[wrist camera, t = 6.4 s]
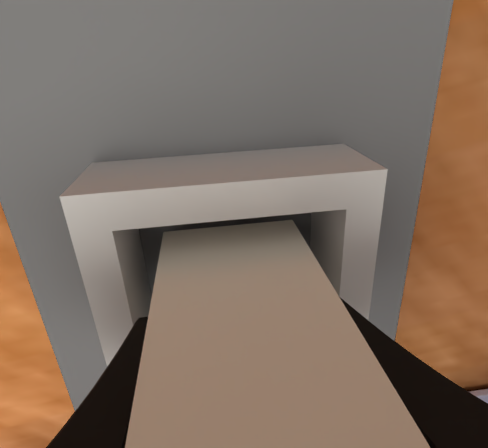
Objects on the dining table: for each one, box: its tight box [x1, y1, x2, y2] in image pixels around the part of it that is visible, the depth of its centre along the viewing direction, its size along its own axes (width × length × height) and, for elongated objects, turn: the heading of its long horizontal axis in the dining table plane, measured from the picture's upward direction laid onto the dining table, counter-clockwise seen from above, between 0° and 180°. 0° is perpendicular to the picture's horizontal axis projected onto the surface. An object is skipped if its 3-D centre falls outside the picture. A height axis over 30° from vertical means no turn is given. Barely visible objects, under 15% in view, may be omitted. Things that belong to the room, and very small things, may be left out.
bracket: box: [0, 0, 453, 411], centre depth 12 cm, size 14×18×4 cm
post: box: [125, 220, 430, 448], centre depth 8 cm, size 4×4×8 cm
